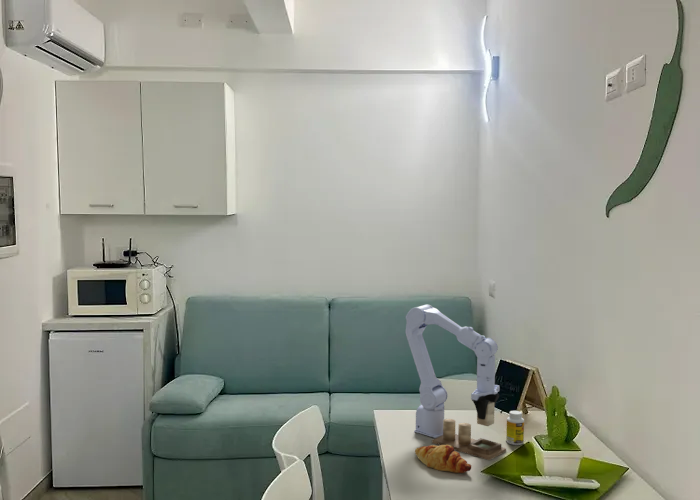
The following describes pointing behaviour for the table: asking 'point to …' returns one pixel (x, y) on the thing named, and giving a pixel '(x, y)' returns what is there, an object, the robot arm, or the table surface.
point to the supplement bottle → (515, 428)
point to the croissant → (442, 458)
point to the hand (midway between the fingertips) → (485, 417)
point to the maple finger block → (487, 415)
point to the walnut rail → (465, 447)
